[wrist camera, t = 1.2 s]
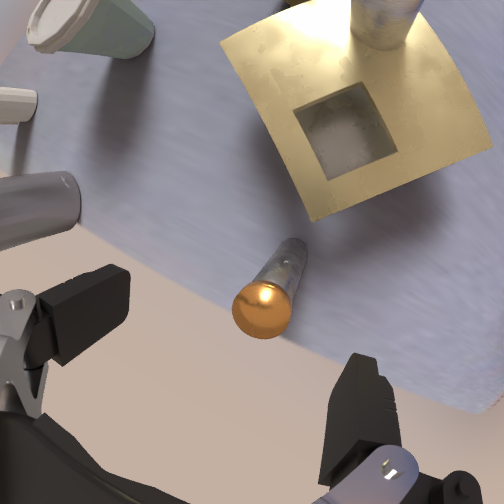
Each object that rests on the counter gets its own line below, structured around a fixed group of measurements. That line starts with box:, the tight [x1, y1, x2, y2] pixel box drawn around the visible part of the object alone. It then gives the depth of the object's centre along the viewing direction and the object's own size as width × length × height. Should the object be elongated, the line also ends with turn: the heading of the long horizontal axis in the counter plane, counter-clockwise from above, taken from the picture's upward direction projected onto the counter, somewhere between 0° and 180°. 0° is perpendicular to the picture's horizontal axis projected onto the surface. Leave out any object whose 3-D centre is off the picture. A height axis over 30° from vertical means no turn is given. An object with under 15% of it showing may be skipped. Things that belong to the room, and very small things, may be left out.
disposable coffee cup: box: [27, 0, 154, 59], centre depth 21 cm, size 11×11×15 cm
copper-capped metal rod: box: [232, 238, 308, 339], centre depth 23 cm, size 3×3×14 cm
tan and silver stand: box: [219, 0, 494, 222], centre depth 14 cm, size 16×16×21 cm
